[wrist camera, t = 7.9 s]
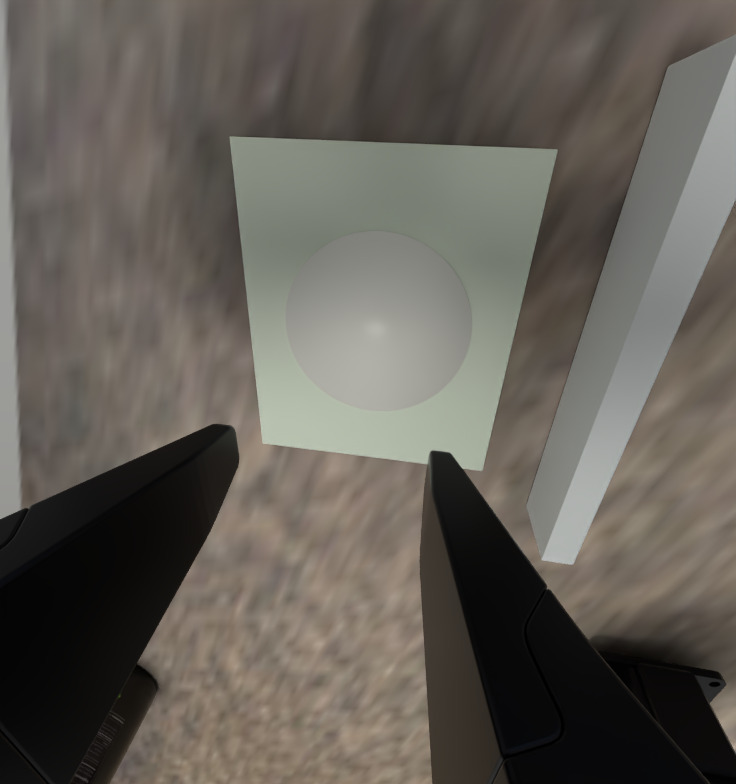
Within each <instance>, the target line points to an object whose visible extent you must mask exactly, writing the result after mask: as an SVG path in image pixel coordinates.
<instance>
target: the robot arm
mask: <svg viewBox="0 0 736 784" xmlns="http://www.w3.org/2000/svg"><path fill="white" fill-rule="evenodd" d="M238 464H239V452H238V445H237V438H236V432H235V429H234V428H233V427H232V426H230V425H223V424H212V425H210V426H207V427H205V428H203V429H201V430H199V431H196V432H194V433H192V434H190V435H187V436H185V437H183V438H181V439H179V440H176V441H174V442H172V443H170V444H167V445H165V446H163V447H161V448H158V449H156V450H154V451H152V452H150V453H147V454H145V455H143V456H141V457H138V458H136V459H134V460H132V461H129V462H127V463H125V464H123V465H121V466H118V467H116V468H114V469H112V470H109V471H107V472H105V473H103V474H100V475H98V476H96V477H94V478H92V479H89V480H87V481H85V482H83V483H80V484H78V485H76V486H74V487H71V488H69V489H67V490H65V491H63V492H60V493H58V494H56V495H54V496H51V497H49V498H47V499H45V500H42V501H40V502H38V503H36V504H34V505H32V506H31V507H30V508H29V509H28V508H24V509H22V510H20V511H18V512H16V513H13V514H11V515H9V516H7V517H5V518H2V519H0V784H70V782H71V780H72V779H73V777H74V775H75V773H76V772H77V770H78V768H79V766H80V764H81V763H82V761H83V759H84V757H85V755H86V754H87V752H88V750H89V748H90V746H91V745H92V743H93V741H94V739H95V737H96V736H97V734H98V732H99V730H100V729H101V727H102V725H103V723H104V721H105V720H106V718H107V716H108V714H109V712H110V711H111V709H112V707H113V705H114V703H115V702H116V700H117V698H118V696H119V694H120V693H121V691H122V689H123V687H124V685H125V684H126V682H127V680H128V678H129V677H130V675H131V673H132V671H133V669H134V668H135V666H136V664H137V662H138V660H139V659H140V657H141V655H142V653H143V651H144V650H145V648H146V646H147V644H148V642H149V641H150V639H151V637H152V635H153V633H154V632H155V630H156V628H157V626H158V625H159V623H160V621H161V619H162V617H163V616H164V614H165V612H166V610H167V608H168V607H169V605H170V603H171V601H172V599H173V598H174V596H175V594H176V592H177V590H178V589H179V587H180V585H181V583H182V581H183V580H184V578H185V576H186V574H187V573H188V571H189V569H190V567H191V565H192V564H193V562H194V560H195V558H196V556H197V555H198V553H199V551H200V549H201V547H202V546H203V544H204V542H205V540H206V538H207V536H208V535H209V533H210V531H211V529H212V527H213V524H214V522H215V520H216V518H217V515H218V513H219V511H220V508H221V506H222V503H223V501H224V499H225V496H226V494H227V492H228V489H229V487H230V484H231V482H232V480H233V477H234V475H235V473H236V470H237V468H238ZM420 580H421V597H422V614H423V631H424V648H425V665H426V682H427V699H428V716H429V733H430V750H431V766H432V783H433V784H736V753H735V751H734V749H733V747H732V745H731V743H730V741H729V739H728V738H727V736H726V734H725V732H724V730H723V728H722V726H721V724H720V722H719V720H718V718H717V716H716V714H715V713H714V711H713V709H712V707H711V705H710V702H711V701H712V700H713V699H714V698H715V697H716V695H717V694H718V693H719V692H720V691H721V690H722V689H723V688H724V687H725V686H726V683H725V681H724V679H723V677H722V675H721V674H720V673H719V672H716V671H712V670H706V669H700V668H694V667H688V666H682V665H676V664H670V663H665V662H659V661H653V660H647V659H641V658H635V657H629V656H623V655H617V654H611V653H606V652H597V651H596V649H595V648H594V647H593V646H592V645H591V643H590V642H589V641H588V639H587V638H586V637H585V635H584V634H583V633H582V632H581V630H580V629H579V628H578V626H577V625H576V624H575V622H574V621H573V620H572V618H571V617H570V616H569V614H568V613H567V612H566V611H565V609H564V608H563V606H562V605H561V604H560V602H559V601H558V600H557V598H556V597H555V595H554V594H553V593H552V591H551V590H549V589H547V585H546V583H545V582H544V581H543V579H542V578H541V576H540V575H539V574H538V572H537V571H536V570H535V568H534V567H533V565H532V564H531V563H530V561H529V560H528V559H527V557H526V556H525V554H524V553H523V552H522V550H521V549H520V547H519V546H518V545H517V543H516V542H515V541H514V539H513V538H512V536H511V535H510V534H509V532H508V531H507V530H506V528H505V527H504V525H503V524H502V523H501V521H500V520H499V519H498V517H497V516H496V514H495V513H494V512H493V510H492V509H491V508H490V506H489V505H488V503H487V502H486V501H485V499H484V498H483V497H482V495H481V494H480V492H479V491H478V490H477V488H476V487H475V485H474V484H473V483H472V481H471V480H470V479H469V477H468V476H467V474H466V473H465V472H464V470H463V469H462V468H461V466H460V465H459V463H458V462H457V461H456V459H455V458H454V457H453V455H452V454H451V453H450V452H444V451H435V450H432V451H430V453H429V457H428V464H427V471H426V478H425V486H424V498H423V513H422V528H421V544H420ZM546 589H547V590H546Z"/></svg>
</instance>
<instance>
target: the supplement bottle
mask: <svg viewBox="0 0 736 784" xmlns="http://www.w3.org/2000/svg"><path fill="white" fill-rule="evenodd" d="M155 694H156V686H155V683H154V681H153V679H152V678H151V677H150V676H149V675H148V674H147V673H146V672H145V671H144V670H142V669H141V668H139V667H138V666H135V668H134V669H133V671H132V673H131V675H130V677H129V678H128V680H127V682H126V684H125V685H124V687H123V689H122V691H121V693H120V694H119V696H118V698H117V700H116V702H115V703H114V705H113V707H112V709H111V711H110V712H109V714H108V716H107V718H106V720H105V721H104V723H103V725H102V727H101V729H100V730H99V732H98V734H97V736H96V737H95V739H94V741H93V743H92V745H91V746H90V748H89V750H88V752H87V754H86V755H85V757H84V759H83V761H82V763H81V764H80V766H79V768H78V770H77V772H76V773H75V775H74V777H73V779H72V780H71V782H70V784H110V782H111V780H112V778H113V776H114V775H115V773H116V771H117V769H118V767H119V765H120V763H121V761H122V759H123V757H124V756H125V754H126V752H127V750H128V748H129V746H130V744H131V742H132V740H133V738H134V737H135V735H136V733H137V731H138V729H139V727H140V725H141V723H142V721H143V719H144V718H145V716H146V714H147V712H148V710H149V708H150V706H151V704H152V702H153V700H154V698H155Z"/></svg>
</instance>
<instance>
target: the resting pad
mask: <svg viewBox="0 0 736 784" xmlns="http://www.w3.org/2000/svg"><path fill="white" fill-rule="evenodd" d="M229 137H230V146H231V155H232V164H233V173H234V183H235V192H236V201H237V210H238V220H239V229H240V238H241V247H242V257H243V266H244V275H245V284H246V293H247V303H248V312H249V321H250V330H251V340H252V349H253V358H254V367H255V377H256V386H257V395H258V404H259V414H260V423H261V432H262V441H263V443H264V444H272V445H280V446H288V447H296V448H304V449H312V450H320V451H328V452H336V453H344V454H351V455H359V456H367V457H375V458H383V459H391V460H399V461H407V462H415V463H423V464H428V457H429V453H430V451H432V450H435V451H444V452H450V453H451V454H452V455H453V457H454V458H455V459H456V461H457V462H458V463H459V465H460V466H461V468H462V469H470V470H478V471H482V470H483V466H484V462H485V457H486V453H487V449H488V445H489V440H490V436H491V432H492V428H493V423H494V419H495V415H496V411H497V406H498V402H499V398H500V394H501V389H502V385H503V381H504V377H505V372H506V368H507V364H508V360H509V355H510V351H511V347H512V343H513V338H514V334H515V330H516V326H517V321H518V317H519V313H520V309H521V304H522V300H523V296H524V292H525V287H526V283H527V279H528V275H529V270H530V266H531V262H532V258H533V253H534V249H535V245H536V241H537V236H538V232H539V228H540V224H541V219H542V215H543V211H544V207H545V202H546V198H547V194H548V190H549V185H550V181H551V177H552V173H553V168H554V164H555V160H556V156H557V151H558V149H536V148H511V147H486V146H460V145H435V144H410V143H385V142H359V141H334V140H309V139H283V138H258V137H233V136H229Z"/></svg>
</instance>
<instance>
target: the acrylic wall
mask: <svg viewBox="0 0 736 784" xmlns="http://www.w3.org/2000/svg"><path fill="white" fill-rule="evenodd" d="M735 200H736V35H733V36H731V37H729V38H727V39H725V40H723V41H721V42H718V43H716V44H714V45H712V46H710V47H708V48H706V49H704V50H701V51H699V52H697V53H695V54H693V55H691V56H689V57H686V58H684V59H682V60H680V61H678V62H676V63H674V64H672V65H669V66H668V68H667V71H666V74H665V77H664V80H663V83H662V86H661V90H660V93H659V96H658V99H657V102H656V105H655V108H654V111H653V114H652V117H651V121H650V124H649V127H648V130H647V133H646V136H645V139H644V142H643V145H642V148H641V152H640V155H639V158H638V161H637V164H636V167H635V170H634V173H633V176H632V179H631V182H630V186H629V189H628V192H627V195H626V198H625V201H624V204H623V207H622V210H621V213H620V217H619V220H618V223H617V226H616V229H615V232H614V235H613V238H612V241H611V244H610V248H609V251H608V254H607V257H606V260H605V263H604V266H603V269H602V272H601V275H600V279H599V282H598V285H597V288H596V291H595V294H594V297H593V300H592V303H591V306H590V310H589V313H588V316H587V319H586V322H585V325H584V328H583V331H582V334H581V337H580V340H579V344H578V347H577V350H576V353H575V356H574V359H573V362H572V365H571V368H570V371H569V375H568V378H567V381H566V384H565V387H564V390H563V393H562V396H561V399H560V402H559V406H558V409H557V412H556V415H555V418H554V421H553V424H552V427H551V430H550V433H549V437H548V440H547V443H546V446H545V449H544V452H543V455H542V458H541V461H540V464H539V468H538V471H537V474H536V477H535V480H534V483H533V486H532V489H531V492H530V495H529V499H528V502H527V505H526V507H527V510H528V514H529V517H530V521H531V525H532V528H533V532H534V535H535V539H536V543H537V546H538V550H539V553H540V557H541V560H543V561H550V562H557V563H564V564H570V565H573V564H574V561H575V559H576V557H577V555H578V552H579V550H580V548H581V546H582V543H583V541H584V539H585V537H586V534H587V532H588V530H589V528H590V525H591V523H592V521H593V519H594V516H595V514H596V512H597V510H598V507H599V505H600V503H601V501H602V498H603V496H604V494H605V492H606V489H607V487H608V485H609V483H610V480H611V478H612V476H613V474H614V472H615V469H616V467H617V465H618V463H619V460H620V458H621V456H622V454H623V451H624V449H625V447H626V445H627V442H628V440H629V438H630V436H631V433H632V431H633V429H634V427H635V424H636V422H637V420H638V418H639V415H640V413H641V411H642V409H643V406H644V404H645V402H646V400H647V397H648V395H649V393H650V391H651V388H652V386H653V384H654V382H655V379H656V377H657V375H658V373H659V370H660V368H661V366H662V364H663V362H664V359H665V357H666V355H667V353H668V350H669V348H670V346H671V344H672V341H673V339H674V337H675V335H676V332H677V330H678V328H679V326H680V323H681V321H682V319H683V317H684V314H685V312H686V310H687V308H688V305H689V303H690V301H691V299H692V296H693V294H694V292H695V290H696V287H697V285H698V283H699V281H700V278H701V276H702V274H703V272H704V269H705V267H706V265H707V263H708V261H709V258H710V256H711V254H712V252H713V249H714V247H715V245H716V243H717V240H718V238H719V236H720V234H721V231H722V229H723V227H724V225H725V222H726V220H727V218H728V216H729V213H730V211H731V209H732V207H733V204H734V202H735Z"/></svg>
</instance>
